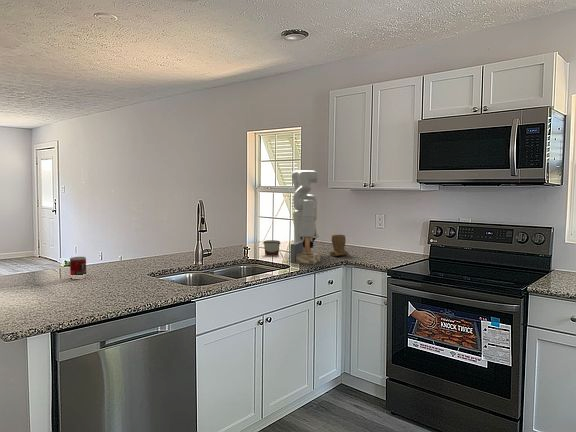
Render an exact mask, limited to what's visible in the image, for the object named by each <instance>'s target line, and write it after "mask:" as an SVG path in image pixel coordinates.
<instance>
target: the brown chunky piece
mask: <svg viewBox="0 0 576 432" xmlns="http://www.w3.org/2000/svg"><path fill="white" fill-rule="evenodd" d="M331 243H332V247H333V250H332V251H330V252H329V255H331V256H332V257H341V256H346V255H349V254H350V252H348V251H346V250H345V246H346V244H347V243H346V235H345V234H332V235H331Z"/></svg>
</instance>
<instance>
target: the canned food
mask: <svg viewBox="0 0 576 432" xmlns="http://www.w3.org/2000/svg"><path fill="white" fill-rule="evenodd" d="M69 266H70V267H69V268H70V269H69V271H70V272H69V273H70V275H83V274H86V275H87V258H86V256H74V257H70V258H69Z"/></svg>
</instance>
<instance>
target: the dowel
mask: <svg viewBox="0 0 576 432" xmlns="http://www.w3.org/2000/svg"><path fill="white" fill-rule="evenodd" d="M310 242H311V239H310V237H305V253H312V248H310Z"/></svg>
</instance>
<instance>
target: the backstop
mask: <svg viewBox="0 0 576 432" xmlns="http://www.w3.org/2000/svg"><path fill="white" fill-rule="evenodd" d="M289 247H290V248H289V249H290V250H289V251H290V252H289V253H290V255H289V256H290V257H289V260H290V264H291V263H292V264H296V255H297V254H300V253H302V252H303V242H296V243H294V242H292V243H290V245H289Z"/></svg>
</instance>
